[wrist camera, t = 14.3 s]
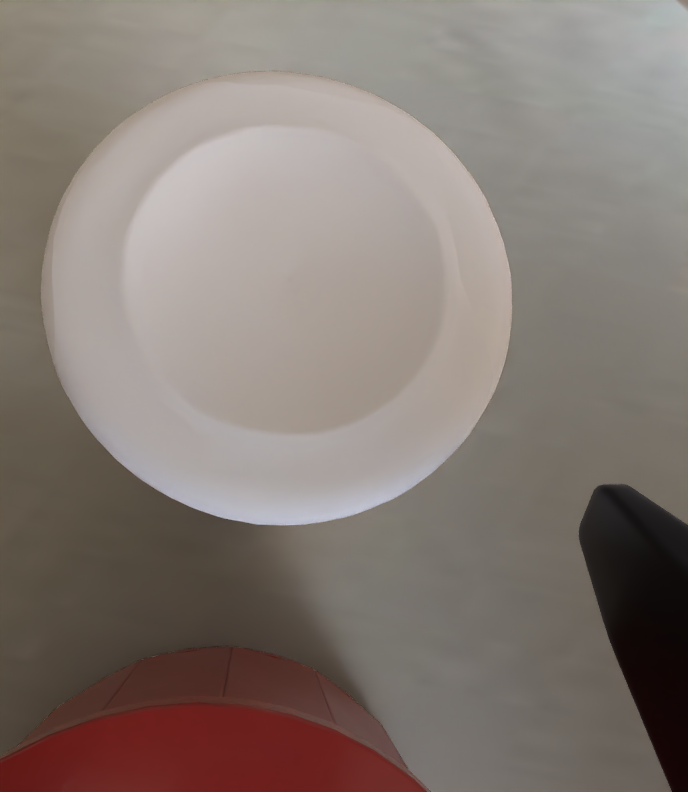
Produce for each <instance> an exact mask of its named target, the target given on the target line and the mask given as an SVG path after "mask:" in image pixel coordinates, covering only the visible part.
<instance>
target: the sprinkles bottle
mask: <svg viewBox="0 0 688 792" xmlns="http://www.w3.org/2000/svg"><path fill="white" fill-rule="evenodd" d="M40 294H41V307H42V314H43V321H44V326H45V332H46V337H47V343H48V347H49V350H50V353H51V357H52V360H53V364H54V367H55V370H56V372H57V375H58V377H59V379H60V382H61V384H62V386H63V388H64V390H65V392H66V394H67V395H68V397H69V399H70V401H71V402H72V404H73V406H74V408H75V409H76V411H77V413H78V415H79V416H80V418H81V420H82V421H83V422H84V424H85V425H86V426H87V428H88V429H89V430H90V431H91V433H92V434H93V435H94V437H95V438H96V439H97V440H98V441H99V442H100V443H101V444H102V445H103V446H104V447H105V448H106V449H107V450H108V451H109V453H110V454H111V455H112V456H113V457H114V458H115V459H116V460H117V461H118V462H120V463H121V464H122V465H123V466H124V467H126V468H127V469H128V470H129V471H130V472H131V473H133V474H134V475H135V476H137V477H138V478H140V479H141V480H142V481H144V482H145V483H147V484H148V485H150V486H151V487H152V488H154V489H156V490H158V491H160V492H161V493H163V494H165V495H167V496H168V497H170V498H172V499H174V500H177V501H179V502H181V503H183V504H185V505H187V506H190V507H192V508H195V509H197V510H200V511H203V512H205V513H208V514H211V515H214V516H218V517H221V518H225V519H230V520H236V521H241V522H246V523H251V524H259V525H304V524H311V523H318V522H325V521H330V520H334V519H339V518H344V517H349V516H351V515H354V514H357V513H360V512H363V511H366V510H369V509H371V508H374V507H376V506H378V505H380V504H383V503H385V502H387V501H389V500H392V499H394V498H396V497H398V496H399V495H401V494H403V493H404V492H406V491H408V490H409V489H411V488H412V487H414V486H415V485H416V484H418V483H419V482H421V481H422V480H423V479H425V478H426V477H427V476H429V475H430V474H431V473H433V472H434V471H435V470H436V469H437V468H438V467H439V466H441V465H442V464H443V463H444V462H445V461H446V460H447V459H448V458H449V457H450V456H451V455H452V454H453V453H454V452H455V451H456V450H457V449H458V448H459V446H460V445H461V444H462V443H463V442H464V441H465V439H466V438H467V437H468V436H469V434H470V433H471V432H472V430H473V429H474V427H475V425H476V424H477V422H478V421H479V419H480V417H481V416H482V414H483V413H484V411H485V409H486V407H487V405H488V403H489V402H490V400H491V398H492V396H493V394H494V391H495V389H496V386H497V384H498V381H499V379H500V376H501V373H502V370H503V367H504V364H505V360H506V356H507V351H508V346H509V340H510V332H511V323H512V282H511V274H510V268H509V263H508V259H507V255H506V251H505V246H504V243H503V240H502V237H501V234H500V231H499V228H498V226H497V223H496V221H495V219H494V216H493V214H492V212H491V209H490V207H489V205H488V203H487V200H486V198H485V196H484V195H483V193H482V191H481V190H480V188H479V187H478V185H477V183H476V182H475V180H474V178H473V177H472V175H471V174H470V173H469V172H468V170H467V169H466V168H465V167H464V165H463V164H462V163H461V162H460V160H459V159H458V158H457V157H456V156H455V154H454V153H453V152H452V151H451V150H450V149H449V148H448V147H447V146H446V145H445V144H444V143H443V142H442V141H441V140H440V139H439V138H438V137H437V136H436V135H435V134H434V133H433V132H432V131H430V130H429V129H428V128H427V127H426V126H424V125H423V124H422V123H420V122H419V121H418V120H416V119H415V118H414V117H412V116H411V115H409V114H408V113H406V112H404V111H403V110H401V109H400V108H398V107H396V106H394V105H393V104H391V103H389V102H387V101H386V100H384V99H382V98H380V97H379V96H377V95H374V94H372V93H369V92H367V91H364V90H362V89H359V88H357V87H355V86H352V85H350V84H346V83H343V82H339V81H335V80H332V79H328V78H325V77H321V76H315V75H309V74H301V73H292V72H282V71H259V72H245V73H237V74H230V75H225V76H220V77H215V78H211V79H206V80H202V81H200V82H197V83H194V84H191V85H188V86H185V87H182V88H180V89H177V90H174V91H172V92H170V93H168V94H166V95H164V96H162V97H160V98H159V99H157V100H155V101H154V102H152V103H150V104H149V105H147V106H145V107H144V108H142V109H140V110H138V111H137V112H135V113H134V114H132V115H131V116H130V117H128V118H127V119H126V120H124V121H123V122H122V123H120V124H119V125H118V126H117V127H116V128H114V129H113V130H112V131H111V132H110V133H109V134H108V135H107V136H106V137H105V138H104V139H103V140H102V141H101V142H100V143H99V144H98V145H97V147H96V148H95V149H94V150H93V151H92V153H91V154H90V155H89V156H88V158H87V159H86V160H85V162H84V163H83V164H82V165H81V167H80V168H79V170H78V171H77V173H76V174H75V176H74V178H73V180H72V181H71V183H70V185H69V186H68V188H67V190H66V192H65V193H64V195H63V197H62V199H61V202H60V204H59V207H58V209H57V212H56V214H55V217H54V219H53V222H52V224H51V229H50V233H49V237H48V241H47V246H46V250H45V254H44V259H43V267H42V280H41V292H40Z"/></svg>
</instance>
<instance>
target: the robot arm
mask: <svg viewBox="0 0 688 792" xmlns="http://www.w3.org/2000/svg"><path fill="white" fill-rule="evenodd" d="M579 540H580V545H581V548H582V551H583V555H584V558H585V561H586V565H587V568H588V572H589V575H590V578H591V582H592V585H593V588H594V592H595V595H596V599H597V602H598V605H599V609H600V612H601V616H602V619H603V622H604V625H605V628H606V631H607V635H608V638H609V640H610V643H611V646H612V648H613V651H614V653H615V656H616V658H617V661H618V663H619V666H620V668H621V670H622V673H623V675H624V678H625V680H626V682H627V685H628V687H629V690H630V692H631V695H632V697H633V699H634V702H635V704H636V707H637V709H638V711H639V714H640V716H641V719H642V721H643V724H644V726H645V728H646V731H647V733H648V736H649V738H650V740H651V743H652V745H653V748H654V750H655V752H656V755H657V757H658V760H659V762H660V765H661V767H662V769H663V772H664V774H665V777H666V779H667V781H668V784H669V786H670V789H671V791H672V792H688V525H687V524H685V523H684V522H682V521H681V520H679V519H678V518H676V517H675V516H674V515H672V514H671V513H669V512H668V511H666V510H665V509H663V508H662V507H660V506H659V505H657V504H656V503H654V502H653V501H651V500H650V499H648V498H647V497H645V496H644V495H642V494H641V493H639V492H638V491H636V490H635V489H633V488H632V487H630V486H628V485H624V484H603V485H599V486H598V487H597V488H596V489H595V490H594V492H593V494H592V496H591V499H590V501H589V503H588V506H587V508H586V511H585V513H584V516H583V518H582V521H581V523H580V527H579Z"/></svg>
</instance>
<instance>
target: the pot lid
mask: <svg viewBox="0 0 688 792" xmlns="http://www.w3.org/2000/svg"><path fill="white" fill-rule="evenodd" d="M0 792H431V791H430V790H429V789H428V788H427V787H426V786H425V785H424V784H423V783H422V782H421V781H420V780H419V779H417V778H416V777H415V776H414V775H413V774H412V773H411V772H410V771H409V770H408V769H407V768H405V767H404V766H403V765H401V764H400V763H398V762H397V761H396V760H394V759H393V758H391V757H390V756H389V755H387V754H386V753H385V752H383V751H382V750H380V749H379V748H378V747H376V746H375V745H373V744H372V743H370V742H369V741H367V740H365V739H363V738H361V737H359V736H357V735H355V734H353V733H351V732H349V731H347V730H346V729H344V728H342V727H340V726H338V725H336V724H334V723H332V722H330V721H327V720H324V719H321V718H318V717H315V716H313V715H310V714H307V713H304V712H301V711H298V710H295V709H293V708H290V707H285V706H280V705H275V704H270V703H265V702H260V701H255V700H250V699H245V698H227V697H209V696H192V697H179V698H167V699H155V700H148V701H143V702H139V703H134V704H130V705H125V706H120V707H116V708H111V709H107V710H102V711H100V712H97V713H94V714H91V715H88V716H86V717H83V718H80V719H77V720H74V721H71V722H69V723H66V724H63V725H60V726H57V727H55V728H53V729H51V730H49V731H47V732H45V733H43V734H41V735H39V736H37V737H35V738H33V739H31V740H29V741H27V742H25V743H23V744H21V745H19V746H17V747H15V748H13V749H11V750H9V751H7V752H6V753H4V754H2V755H1V756H0Z"/></svg>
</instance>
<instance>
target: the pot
mask: <svg viewBox="0 0 688 792" xmlns="http://www.w3.org/2000/svg"><path fill="white" fill-rule="evenodd" d="M192 696H209V697H227V698H245V699H250V700H255V701H260V702H265V703H270V704H275V705H280V706H285V707H290V708H293V709H295V710H298V711H301V712H304V713H307V714H310V715H313V716H315V717H318V718H321V719H324V720H327V721H330V722H332V723H334V724H336V725H338V726H340V727H342V728H344V729H346V730H347V731H349V732H351V733H353V734H355V735H357V736H359V737H361V738H363V739H365V740H367V741H369V742H370V743H372V744H373V745H375V746H376V747H378V748H379V749H380V750H382V751H383V752H385V753H386V754H387V755H389V756H390V757H391V758H393V759H394V760H396V761H397V762H398V763H400V764H401V765H403V766H404V767H405V768H407V767H406V765H405V763H404V762H403V760H402V758H401V756H400V755H399V753H398V751H397V750H396V748H395V746H394V745H393V743H392V741H391V740H390V738H389V736H388V735H387V733H386V731H385V729H384V728H383V726H382V725H380V723H379V722H378V721H377V720H376V719H375V718H374V717H372V716H371V715H370V714H369V713H368V712H366V711H365V710H364V709H363V708H362V707H361V706H360V705H359V704H358V703H357V702H356V701H355V700H354V699H353V698H352V697H351V696H350V695H349V694H347V693H346V692H345V691H344V690H342V689H341V688H340V687H338V686H337V685H335V684H334V683H333V682H331V681H330V680H328V679H327V678H326V677H324V676H323V675H322V674H320V673H319V672H318V671H316V670H314V669H313V668H310V667H307V666H304V665H302V664H300V663H297V662H295V661H292V660H289V659H286V658H283V657H281V656H278V655H275V654H271V653H267V652H262V651H257V650H252V649H247V648H239V647H235V646H234V647H230V646H226V647H219V646H217V647H203V648H189V649H184V650H179V651H174V652H169V653H165V654H160V655H157V656H154V657H147V658H144V659H143V660H138V661H136V662H134V663H133V664H131V665H129V666H127V667H125V668H123V669H121V670H119V671H117V672H115V673H113V674H111V675H109V676H107V677H105V678H103V679H102V680H100V681H99V682H97V683H95V684H94V685H92V686H91V687H89V688H88V689H86V690H85V691H83V692H82V693H80V694H79V695H77V696H75V697H73V698H72V699H70V700H68V701H66V702H65V703H63V704H61V705H60V706H59V707H58V708H56V709H55V710H54V711H53V712H52V713H51V714H50V715H49V716H48V717H47V718H46V719H45V720H44V721H43V722H42V723H41V724H40V725H39V726H38V727H37V728H35V729H34V730H33V731H32V732H31V733H30V734H29V735H28V736H27V737H26V738H25V739H24V740H23V741H22V742H21V743H20V744H19V745H21V744H23V743H25V742H27V741H29V740H31V739H33V738H35V737H37V736H39V735H41V734H43V733H45V732H47V731H49V730H51V729H53V728H55V727H57V726H60V725H63V724H66V723H69V722H71V721H74V720H77V719H80V718H83V717H86V716H88V715H91V714H94V713H97V712H100V711H102V710H107V709H111V708H116V707H120V706H125V705H130V704H134V703H139V702H143V701H148V700H155V699H167V698H179V697H192ZM19 745H18V746H19ZM407 769H408V768H407Z"/></svg>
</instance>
